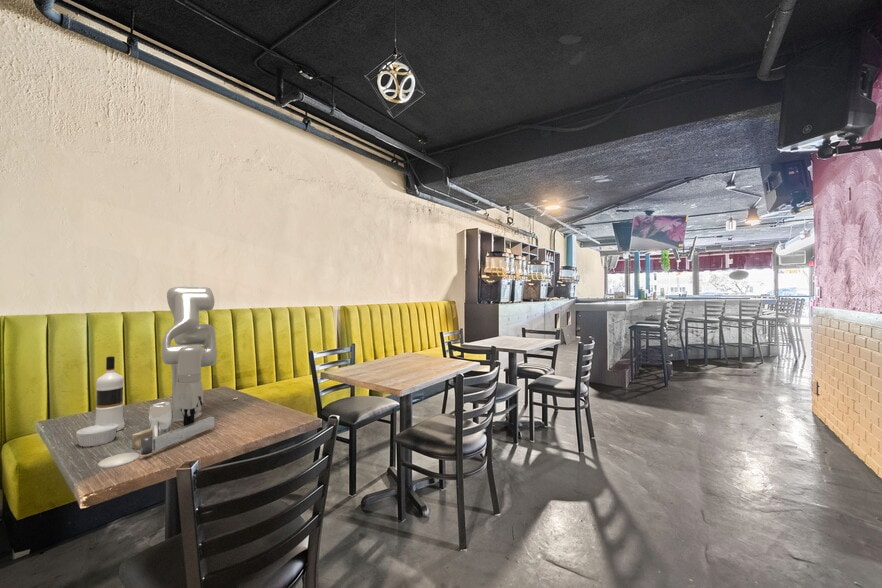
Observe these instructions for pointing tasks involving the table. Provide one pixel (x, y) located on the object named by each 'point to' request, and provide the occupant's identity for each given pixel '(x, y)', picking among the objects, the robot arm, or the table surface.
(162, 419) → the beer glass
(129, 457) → the white disc
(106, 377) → the vodka
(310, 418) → the table surface
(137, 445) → the block
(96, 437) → the ramekin
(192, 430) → the bar
